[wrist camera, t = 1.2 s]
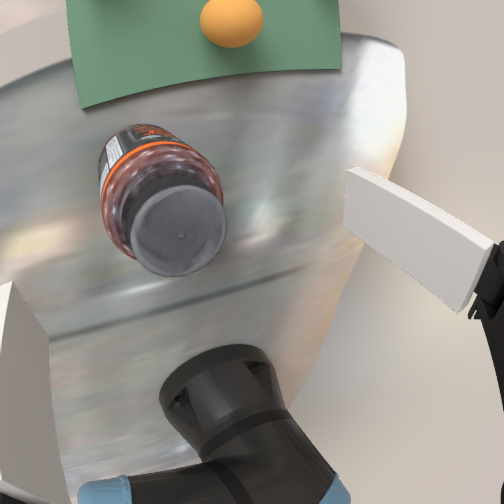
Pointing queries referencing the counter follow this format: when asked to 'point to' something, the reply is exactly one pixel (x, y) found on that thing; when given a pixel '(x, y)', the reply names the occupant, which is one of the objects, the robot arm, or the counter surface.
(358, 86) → the counter surface
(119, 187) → the supplement bottle
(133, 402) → the counter surface
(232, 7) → the ball
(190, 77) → the pitch mat
